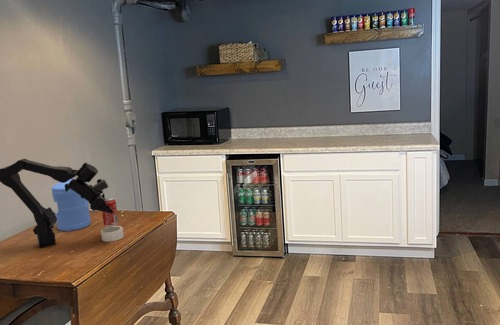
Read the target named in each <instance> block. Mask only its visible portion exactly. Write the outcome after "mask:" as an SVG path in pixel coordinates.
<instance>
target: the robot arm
mask: <svg viewBox="0 0 500 325" xmlns="http://www.w3.org/2000/svg"><path fill="white" fill-rule="evenodd" d="M23 170H24V171H28V172H32V173H35V174H40V175H44V176H48V177H49V178H52V180H54V181H56V182H58V183H59V182H61V183H65V182H67V181H69V180H70V179H72V180H71V181H70V182H69V183H68V184H65V191H66V192H67V191H68V190H69V189H71V190H73V191H74V192H76V193H77V194H79V195H80V196H81V198H84V199H86V200H87V201H88V204H89V207H90V208H89V210H92V211H93V212H94V211H95V212H96V211H100V212H102V211H103V212H108V213H113V210H112V209H111V208H110V207H109V206H108V205H107V204H106V203H105V198H106V196H105V192H104V190H106V189H107V188H109V184H108V183H107V182H106V180H105V179H101V178H98V179H97V180H96V183H95V184H94V185H92V184H88V183H90V182H91V181H92V180H93V178H95V176H97V174H98V173H99V171H98V169H97V168H96V167H95V166H94V165H92V164H89V163H87V162H84V163H83V164H82V165H81V167H80V168H79V169H73V168H71V167H70V166H62V165H61V166H56V165H54V166H53V165H49V164H45V163H42V162H37V161H34V160H30V159H27V158H22V159H19V160H17V161H16V162H14V163H12V164H11V165H8V166H7V165H6V166H4V167H1V168H0V183H1V184H2V185H4V186H5V187H7V188H10V189H11V190H12V191H13V192H14V194H15V195H16V196H17V197H18V198H19V199H20V201H22V203H23V204H24V205H25V206H26V207H27V209H28V210H29V211H30V212H31V213H32V214H33V218H34V222H35V223H36V225H35V227H34V228H33V229H32V232H33V234H34V235H36V240H37V243H36V244H37V246H38V247H39V248H40V249H41V248H47V247H50V246H54V245H56V234H55V232H54V230H53V229H54V227H55V224H57V217H56V214H57V213H56V212H55V211H53V209H52V208H51V207H47V208H46V207H44V206H43V205H42V204H41V203H40V201H38V200H37V198H36V197H35V196H34V195H33V193H32V192H31V191H30V190H29V189H28V188H27V186H25V184H24V183H23V182H22V181H21V176H20V174H19V173H20V172H22V171H23ZM75 177H76V178H75Z"/></svg>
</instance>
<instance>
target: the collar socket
mask: <svg viewBox="0 0 500 325" xmlns="http://www.w3.org/2000/svg"><path fill="white" fill-rule="evenodd" d="M100 234H101V235H100V236H101V241H103V242H106V243H107V242H108V243H109V242H116V241H119V240H121V239H123V238H124V228H123V227H122V226H119V225H116V226H113V227H105V228H102V229H101V230H100Z"/></svg>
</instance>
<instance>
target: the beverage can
mask: <svg viewBox="0 0 500 325" xmlns="http://www.w3.org/2000/svg"><path fill="white" fill-rule="evenodd" d="M105 203H106V204H107V205H108V206H109V207H110V208H111V209H112V210H113V213H108V212H103V211H101V215H102V221H103V222H102V223H103V226H104V227H105V228H107V227H113V226H118V223H119V218H118V209H117V201H116V200H115V197H105Z"/></svg>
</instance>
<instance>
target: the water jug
mask: <svg viewBox="0 0 500 325" xmlns="http://www.w3.org/2000/svg"><path fill="white" fill-rule="evenodd" d="M72 179H73V178H72ZM72 179H70V180H69V181H67V182H65V183H61V182H59V181H58V182H56V184H54V185H53V186H52V187H51V195H52V200H53V202H54V203H56V205H57V213H56V217H57V221H56V229H58V230H59V231H64V232H71V231H78V230H81V229H84V228H87V227H89V226H90V225H91V223H92V221H91V220H92V219H91V215H90V208H89V207H90V204H89V202H88V201H87V200H86V199H84V198H81V196H80V195H79V194H77V193H76V192H74V191H73V190H71V189H69V190H68V191H67V192H66V191H65V184H68V183H69V182H70V181H71V180H72Z"/></svg>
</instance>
